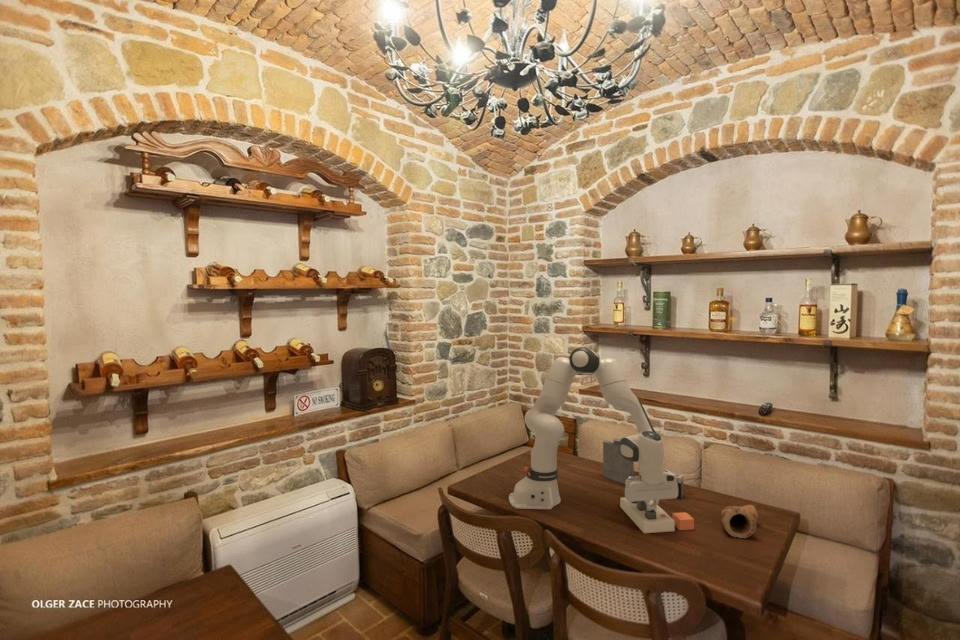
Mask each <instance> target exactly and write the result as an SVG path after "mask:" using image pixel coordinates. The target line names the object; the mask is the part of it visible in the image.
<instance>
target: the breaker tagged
mask: <svg viewBox="0 0 960 640" xmlns="http://www.w3.org/2000/svg"><path fill="white" fill-rule="evenodd" d="M645 517H646V518H647V519H648V520H650V519H656V512H655V511H648V510H647V509H645Z"/></svg>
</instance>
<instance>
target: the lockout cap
mask: <svg viewBox="0 0 960 640" xmlns="http://www.w3.org/2000/svg"><path fill="white" fill-rule="evenodd" d="M671 518H672V519H673V520H674V521H675V528H676V529H677V530H679V531H690V530H691V531H692V530H695V518H693V517H692V515H690V514H689V513H687V512H686V511H685V512H672V513H671Z"/></svg>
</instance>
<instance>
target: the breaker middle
mask: <svg viewBox="0 0 960 640" xmlns="http://www.w3.org/2000/svg"><path fill="white" fill-rule="evenodd" d="M637 508H638V510H639V511H645V509H647V505H646V503H645V502H644V501H637Z"/></svg>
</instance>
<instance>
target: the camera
mask: <svg viewBox="0 0 960 640" xmlns="http://www.w3.org/2000/svg"><path fill="white" fill-rule="evenodd" d="M672 473H673V474H674V475H675V476H676V477H677V479H676V482H677V484H678V496H677V498H676V499H677V500H681V499H682V498H684V475H683V474H678V473H675V472H672Z"/></svg>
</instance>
